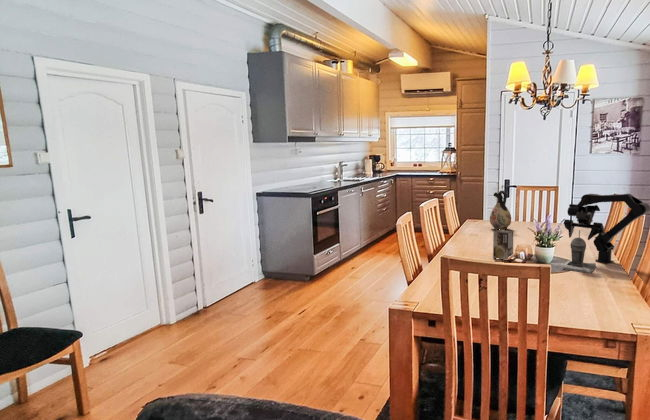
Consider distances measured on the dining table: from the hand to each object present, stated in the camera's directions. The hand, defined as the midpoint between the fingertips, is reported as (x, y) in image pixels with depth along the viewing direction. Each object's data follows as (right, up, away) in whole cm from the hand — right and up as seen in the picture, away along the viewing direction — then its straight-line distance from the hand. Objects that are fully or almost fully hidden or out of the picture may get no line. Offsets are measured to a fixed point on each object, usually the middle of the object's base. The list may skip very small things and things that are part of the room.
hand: (578, 238), depth 239 cm
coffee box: (-35, -13, +15) cm, 40 cm away
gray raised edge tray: (-4, -15, -8) cm, 17 cm away
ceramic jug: (-3, 0, +99) cm, 99 cm away
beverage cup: (-5, -15, -7) cm, 17 cm away
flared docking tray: (-4, -15, -7) cm, 17 cm away
